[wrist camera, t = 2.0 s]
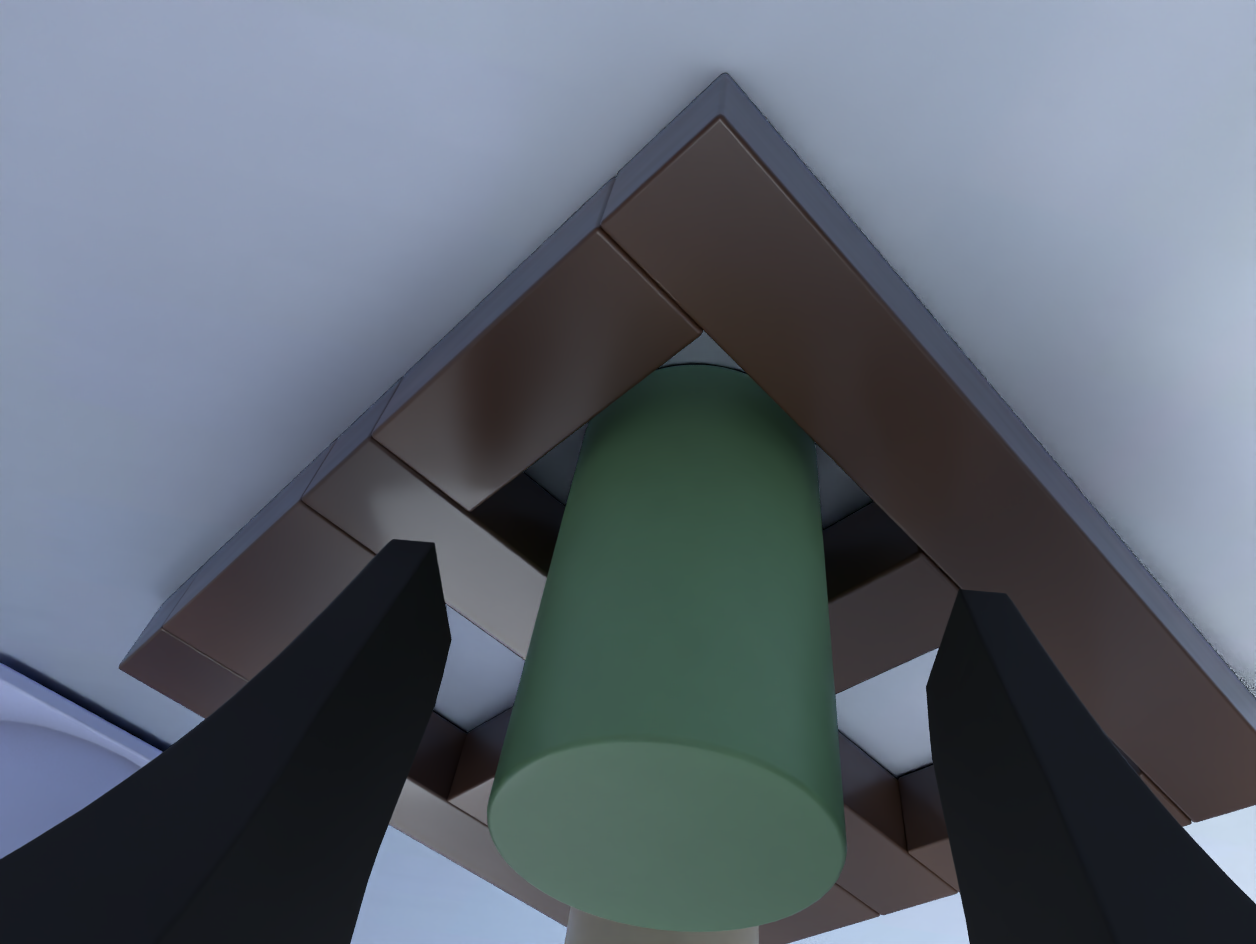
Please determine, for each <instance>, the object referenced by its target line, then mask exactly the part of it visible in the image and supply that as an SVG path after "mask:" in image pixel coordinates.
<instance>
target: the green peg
mask: <svg viewBox="0 0 1256 944" xmlns="http://www.w3.org/2000/svg"><path fill="white" fill-rule="evenodd" d="M487 823H488V828H489V831H490V835H491V838H492V840H493V842H494V844H495V846H496V848H497V850H498V852H499V853H500V854H501V856H502V857H503V858H504V860H505V861H506V862H507V864H508V865H509V866H510V867H511V868H512V869H513V870H514V871H515V872H516V873H517V874H519V875H520V876H521V877H522V878H524V879H525V880H526V881H527V882H529V883H530V884H531V885H533V886H534V887H536V888H537V889H539V890H540V891H542V892H544V893H545V894H547V895H549V896H551V897H553V898H554V899H556V900H558V901H560V902H562V903H564V904H567V905H569V906H571V907H573V908H576V909H578V910H581V911H584V912H586V913H589V914H592V915H595V916H598V917H601V918H605V919H608V920H612V921H615V922H619V923H624V924H628V925H633V926H638V927H644V928H651V929H657V930H668V931H680V932H715V931H728V930H737V929H744V928H749V927H755V926H760V925H763V924H767V923H771V922H775V921H778V920H780V919H783V918H786V917H789V916H791V915H794V914H796V913H798V912H800V911H802V910H804V909H806V908H807V907H809V906H810V905H812V904H813V903H815V902H816V901H818V900H819V899H821V898H822V897H823V896H824V895H825V894H826V893H827V892H828V891H829V890H830V889H831V888H832V887H833V885H834V884H835V882H836V881H837V880H838V878H839V876H840V874H841V871H842V869H843V867H844V864H845V860H846V855H847V840H846V828H845V815H844V802H843V789H842V776H841V763H840V750H839V738H838V725H837V712H836V699H835V686H834V673H833V660H832V648H831V635H830V622H829V609H828V596H827V583H826V570H825V558H824V545H823V532H822V519H821V506H820V493H819V480H818V468H817V455H816V448H815V444H814V441H813V440H812V439H811V438H810V437H809V436H808V435H807V434H806V433H805V432H804V430H803V429H802V428H801V427H800V426H799V425H798V424H797V423H796V422H795V421H794V420H793V419H792V418H791V417H790V416H789V415H788V414H787V413H786V412H785V411H784V410H783V409H782V408H781V407H780V406H779V405H778V404H777V403H776V402H775V401H774V400H773V399H772V398H771V397H770V396H769V395H768V394H767V393H766V392H765V391H764V390H763V389H762V388H761V387H760V386H759V385H758V384H757V383H756V382H755V381H754V380H753V379H752V378H751V377H750V376H749V375H747V374H745V373H742V372H739V371H736V370H732V369H728V368H724V367H718V366H710V365H680V366H671V367H667V368H662V369H658V370H655V371H654V372H652V373H651V374H650V375H648V376H647V377H646V378H644V379H643V380H642V381H641V382H639V383H638V384H637V385H635V386H634V387H633V388H631V389H630V390H629V391H628V392H626V393H625V394H624V395H622V396H621V397H620V398H618V399H617V400H616V401H615V402H613V403H612V404H611V405H609V406H608V407H607V408H605V409H604V410H603V411H602V412H600V413H599V414H598V415H596V416H595V417H594V418H592V419H591V420H590V422H589V424H588V427H587V429H586V432H585V435H584V439H583V442H582V446H581V450H580V454H579V458H578V461H577V465H576V469H575V473H574V477H573V480H572V484H571V488H570V492H569V496H568V499H567V503H566V507H565V511H564V515H563V519H562V522H561V526H560V530H559V534H558V538H557V541H556V545H555V549H554V553H553V557H552V560H551V564H550V568H549V572H548V576H547V579H546V583H545V587H544V591H543V595H542V598H541V602H540V606H539V610H538V614H537V618H536V621H535V625H534V629H533V633H532V637H531V640H530V644H529V648H528V652H527V656H526V659H525V663H524V667H523V671H522V675H521V678H520V682H519V686H518V690H517V694H516V697H515V701H514V705H513V709H512V713H511V716H510V720H509V724H508V728H507V732H506V736H505V739H504V743H503V747H502V751H501V755H500V758H499V762H498V766H497V770H496V774H495V777H494V781H493V785H492V789H491V793H490V796H489V801H488V806H487Z"/></svg>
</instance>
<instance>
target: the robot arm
mask: <svg viewBox="0 0 1256 944" xmlns="http://www.w3.org/2000/svg"><path fill="white" fill-rule="evenodd" d="M450 644H451V634H450V628H449V622H448V617H447V611H446V605H445V599H444V594H443V588H442V582H441V576H440V570H439V565H438V559H437V553H436V547H435V543H434V542H423V541H412V540H400V539H392V540H391V541H390V542H388V543H387V544H386V545H385V546H384V547H383V548H382V549H381V550H380V551H379V553H378V554H377V555H376V556H375V557H374V558H373V559H372V560H371V561H370V562H369V563H368V564H367V565H366V566H365V567H364V568H363V570H362V571H361V572H360V573H359V574H358V575H357V576H356V577H355V578H354V579H353V580H352V581H351V582H350V583H349V584H348V585H347V587H346V588H345V589H344V590H343V591H342V592H341V593H340V594H339V595H338V596H337V597H336V598H335V599H334V600H333V601H332V602H331V603H330V604H329V605H328V606H327V607H326V608H325V609H324V610H323V611H322V612H321V613H320V614H319V615H318V616H317V617H316V618H315V619H314V620H313V621H312V622H311V623H310V624H309V625H308V626H307V627H306V628H305V629H304V630H303V631H302V632H301V633H300V634H299V635H298V636H297V637H296V638H295V639H294V640H293V641H292V642H291V643H290V644H289V645H288V646H287V647H286V648H285V649H284V650H283V651H282V652H281V653H280V654H279V655H278V656H276V657H275V658H274V659H273V660H272V661H271V662H270V663H269V664H268V665H267V666H265V667H264V668H263V669H262V670H261V671H260V672H259V673H258V674H257V675H255V676H254V677H253V678H252V679H251V680H250V681H249V682H248V683H247V684H246V685H244V686H243V687H242V688H241V689H240V690H239V691H238V692H237V693H236V694H234V695H233V696H232V697H231V698H230V699H229V700H228V701H226V702H225V703H224V704H223V705H222V706H220V707H219V708H218V709H217V710H216V711H214V712H213V713H212V714H211V715H210V716H208V717H207V718H206V719H205V720H204V721H202V722H201V723H200V724H199V725H197V726H196V727H195V728H194V729H192V730H191V731H190V732H189V733H187V734H186V735H185V736H183V737H182V738H181V739H180V740H178V741H177V742H176V743H174V744H173V745H172V746H171V747H169V748H168V749H167V750H165V751H164V752H162V751H161V750H159V749H157V748H155V747H153V746H151V745H150V744H148V743H146V742H144V741H142V740H141V739H139V738H137V737H135V736H133V735H131V734H130V733H128V732H126V731H124V730H122V729H121V728H119V727H117V726H115V725H113V724H111V723H110V722H108V721H106V720H104V719H102V718H101V717H99V716H97V715H95V714H93V713H91V712H90V711H88V710H86V709H84V708H82V707H81V706H79V705H77V704H75V703H73V702H71V701H70V700H68V699H66V698H64V697H62V696H61V695H59V694H57V693H55V692H53V691H51V690H50V689H48V688H46V687H44V686H42V685H41V684H39V683H37V682H35V681H33V680H31V679H30V678H28V677H26V676H24V675H22V674H21V673H19V672H17V671H15V670H13V669H11V668H10V667H8V666H6V665H4V664H1V663H0V944H350V942H351V939H352V935H353V932H354V928H355V925H356V921H357V918H358V914H359V911H360V907H361V904H362V900H363V897H364V893H365V890H366V886H367V883H368V879H369V876H370V874H371V871H372V868H373V865H374V862H375V859H376V856H377V853H378V850H379V848H380V845H381V843H382V840H383V837H384V835H385V832H386V830H387V827H388V825H389V822H390V820H391V817H392V815H393V812H394V809H395V807H396V804H397V802H398V799H399V797H400V794H401V792H402V789H403V787H404V784H405V781H406V779H407V776H408V774H409V771H410V769H411V766H412V764H413V761H414V759H415V756H416V753H417V751H418V748H419V746H420V743H421V740H422V738H423V735H424V733H425V730H426V727H427V725H428V722H429V720H430V717H431V714H432V712H433V709H434V706H435V703H436V699H437V695H438V692H439V688H440V684H441V680H442V677H443V673H444V669H445V664H446V660H447V656H448V652H449V648H450ZM926 692H927V705H928V719H929V731H930V742H931V752H932V760H933V765H934V770H935V776H936V780H937V785H938V790H939V795H940V800H941V805H942V810H943V814H944V819H945V824H946V829H947V833H948V838H949V843H950V847H951V852H952V857H953V862H954V866H955V871H956V876H957V880H958V885H959V890H960V895H961V899H962V904H963V909H964V914H965V918H966V924H967V930H968V936H969V942H970V944H1256V904H1255V903H1254V902H1253V901H1252V900H1251V899H1250V898H1249V897H1248V896H1247V895H1246V894H1245V893H1244V892H1243V891H1242V890H1241V889H1240V888H1239V887H1238V886H1237V885H1236V884H1235V883H1234V882H1233V881H1232V880H1231V879H1230V878H1229V877H1228V876H1227V875H1226V874H1225V872H1224V871H1223V870H1222V869H1221V868H1220V867H1219V866H1218V865H1217V864H1216V863H1215V862H1214V861H1213V860H1212V859H1211V858H1210V857H1209V855H1208V854H1207V853H1206V852H1205V851H1204V850H1203V849H1202V848H1201V847H1200V846H1199V845H1198V844H1197V843H1196V842H1195V840H1194V839H1193V838H1192V837H1191V836H1190V835H1189V834H1188V833H1187V832H1186V830H1185V829H1184V828H1183V827H1182V826H1181V825H1180V824H1179V823H1178V821H1177V820H1176V819H1175V818H1174V817H1173V816H1172V815H1171V813H1170V812H1169V811H1168V810H1167V809H1166V808H1165V806H1164V805H1163V804H1162V803H1161V802H1160V801H1159V799H1158V798H1157V797H1156V796H1155V795H1154V793H1153V792H1152V791H1151V790H1150V789H1149V787H1148V786H1147V785H1146V784H1145V782H1144V781H1143V780H1142V779H1141V778H1140V776H1139V775H1138V774H1137V773H1136V772H1135V770H1134V769H1133V768H1132V767H1131V765H1130V764H1129V763H1128V762H1127V760H1126V759H1125V758H1124V757H1123V755H1122V754H1121V753H1120V752H1119V750H1118V749H1117V748H1116V746H1115V745H1114V744H1113V743H1112V741H1111V740H1110V739H1109V737H1108V736H1107V735H1106V733H1105V732H1104V731H1103V729H1102V728H1101V727H1100V725H1099V724H1098V723H1097V721H1096V720H1095V719H1094V717H1093V716H1092V715H1091V713H1090V712H1089V711H1088V709H1087V708H1086V707H1085V705H1084V704H1083V703H1082V701H1081V700H1080V699H1079V697H1078V696H1077V694H1076V693H1075V692H1074V690H1073V689H1072V687H1071V686H1070V685H1069V683H1068V682H1067V680H1066V679H1065V678H1064V676H1063V675H1062V673H1061V672H1060V670H1059V669H1058V668H1057V666H1056V665H1055V663H1054V662H1053V660H1052V659H1051V658H1050V656H1049V655H1048V653H1047V652H1046V650H1045V649H1044V647H1043V646H1042V644H1041V643H1040V641H1039V640H1038V638H1037V637H1036V635H1035V634H1034V633H1033V631H1032V630H1031V628H1030V627H1029V625H1028V624H1027V622H1026V621H1025V619H1024V618H1023V616H1022V615H1021V613H1020V612H1019V610H1018V609H1017V607H1016V606H1015V604H1014V603H1013V601H1012V600H1011V599H1010V597H1009V596H1008V595H1007V594H1006V593H998V592H986V591H975V590H964V589H959V590H958V593H957V596H956V599H955V602H954V605H953V608H952V611H951V614H950V617H949V620H948V623H947V626H946V629H945V632H944V635H943V638H942V641H941V644H940V647H939V650H938V653H937V656H936V659H935V662H934V665H933V668H932V670H931V673H930V676H929V679H928V682H927V685H926Z"/></svg>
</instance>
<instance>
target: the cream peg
mask: <svg viewBox="0 0 1256 944" xmlns="http://www.w3.org/2000/svg"><path fill="white" fill-rule="evenodd" d="M565 944H759V926H755V927H749V928H744V929H737V930H728V931H715V932H680V931H668V930H657V929H651V928H644V927H638V926H633V925H628V924H624V923H619V922H615V921H612V920H608V919H605V918H601V917H598V916H595V915H592V914H589V913H586V912H584V911H581V910H578V909H576V908H573V907H571V908H570V914H569V920H568V926H567V932H566V938H565Z"/></svg>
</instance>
